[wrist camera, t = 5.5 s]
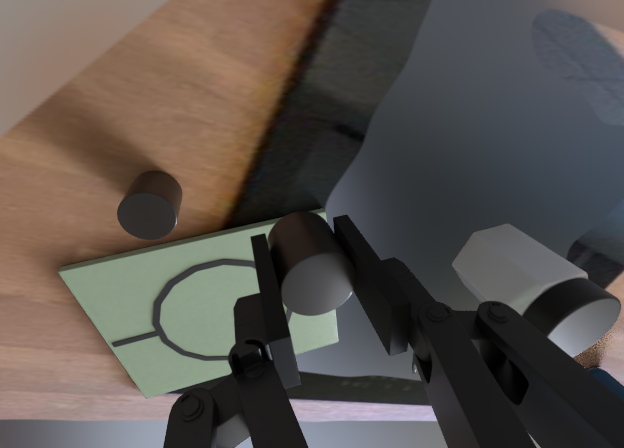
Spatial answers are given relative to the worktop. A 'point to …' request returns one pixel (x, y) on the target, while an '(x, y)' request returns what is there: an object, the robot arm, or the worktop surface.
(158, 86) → the worktop surface
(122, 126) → the worktop surface
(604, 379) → the soda can
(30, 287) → the worktop surface
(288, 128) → the worktop surface
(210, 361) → the board
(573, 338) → the jar
